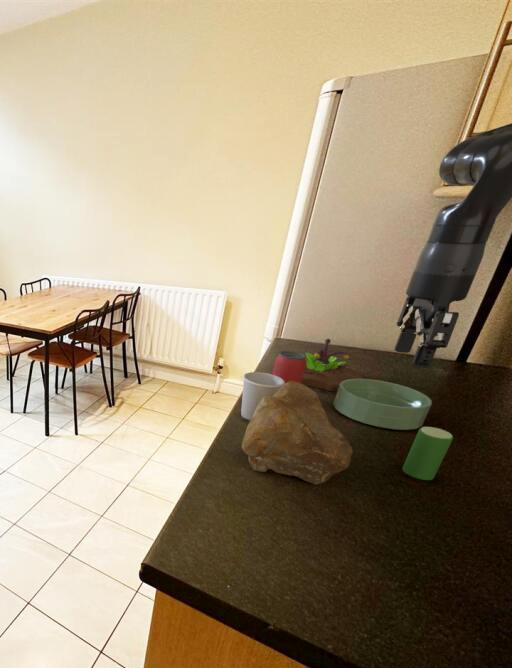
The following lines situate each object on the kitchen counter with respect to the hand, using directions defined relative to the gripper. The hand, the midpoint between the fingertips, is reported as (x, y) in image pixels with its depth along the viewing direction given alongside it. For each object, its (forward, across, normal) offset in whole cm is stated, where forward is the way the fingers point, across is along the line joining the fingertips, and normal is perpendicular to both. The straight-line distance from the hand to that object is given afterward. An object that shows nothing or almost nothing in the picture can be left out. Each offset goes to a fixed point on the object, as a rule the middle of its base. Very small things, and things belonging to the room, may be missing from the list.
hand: (410, 359), depth 77 cm
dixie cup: (+21, +8, +21) cm, 30 cm away
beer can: (+21, +23, +14) cm, 34 cm away
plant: (+21, +42, +2) cm, 46 cm away
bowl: (+21, +20, -5) cm, 29 cm away
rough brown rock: (+21, -12, +16) cm, 29 cm away
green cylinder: (+21, -6, -5) cm, 22 cm away
